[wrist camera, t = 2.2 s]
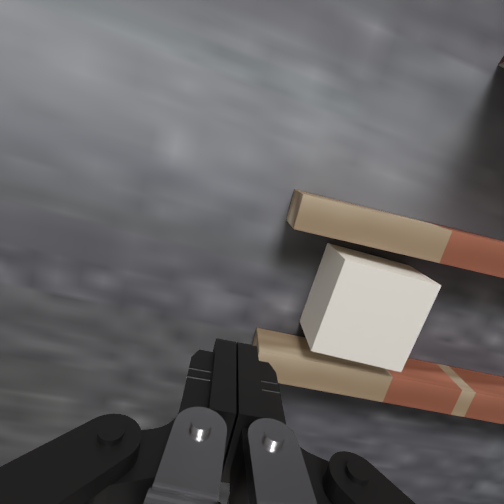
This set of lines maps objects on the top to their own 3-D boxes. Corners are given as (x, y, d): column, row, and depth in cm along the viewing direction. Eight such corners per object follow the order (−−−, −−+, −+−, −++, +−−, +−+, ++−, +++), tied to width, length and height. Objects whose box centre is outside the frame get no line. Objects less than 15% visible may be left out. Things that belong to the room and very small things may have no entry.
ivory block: (326, 242, 22) (345, 259, 19) (407, 264, 23) (441, 285, 19) (299, 319, 24) (310, 351, 20) (375, 338, 25) (401, 372, 21)
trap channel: (294, 189, 21) (303, 194, 18) (671, 282, 24) (731, 298, 21) (250, 352, 24) (252, 378, 21) (589, 416, 27) (632, 447, 24)
